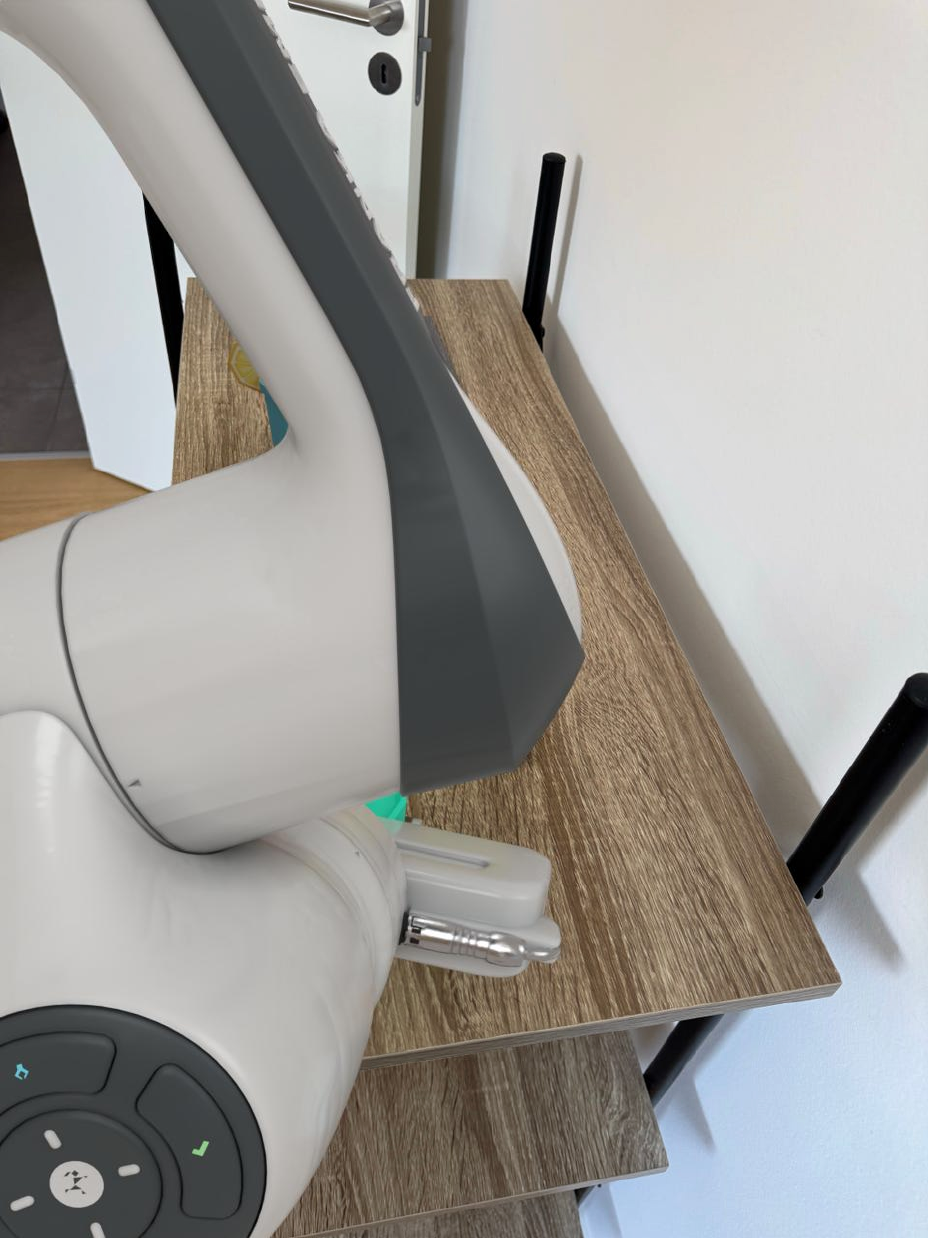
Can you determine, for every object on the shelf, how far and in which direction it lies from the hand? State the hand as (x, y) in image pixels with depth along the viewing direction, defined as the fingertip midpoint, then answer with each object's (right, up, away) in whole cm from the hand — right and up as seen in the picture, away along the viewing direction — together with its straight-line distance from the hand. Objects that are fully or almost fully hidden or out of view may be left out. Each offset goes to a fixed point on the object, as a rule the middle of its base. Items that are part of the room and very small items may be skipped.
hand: (346, 819), depth 47 cm
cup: (-7, +22, +35) cm, 42 cm away
